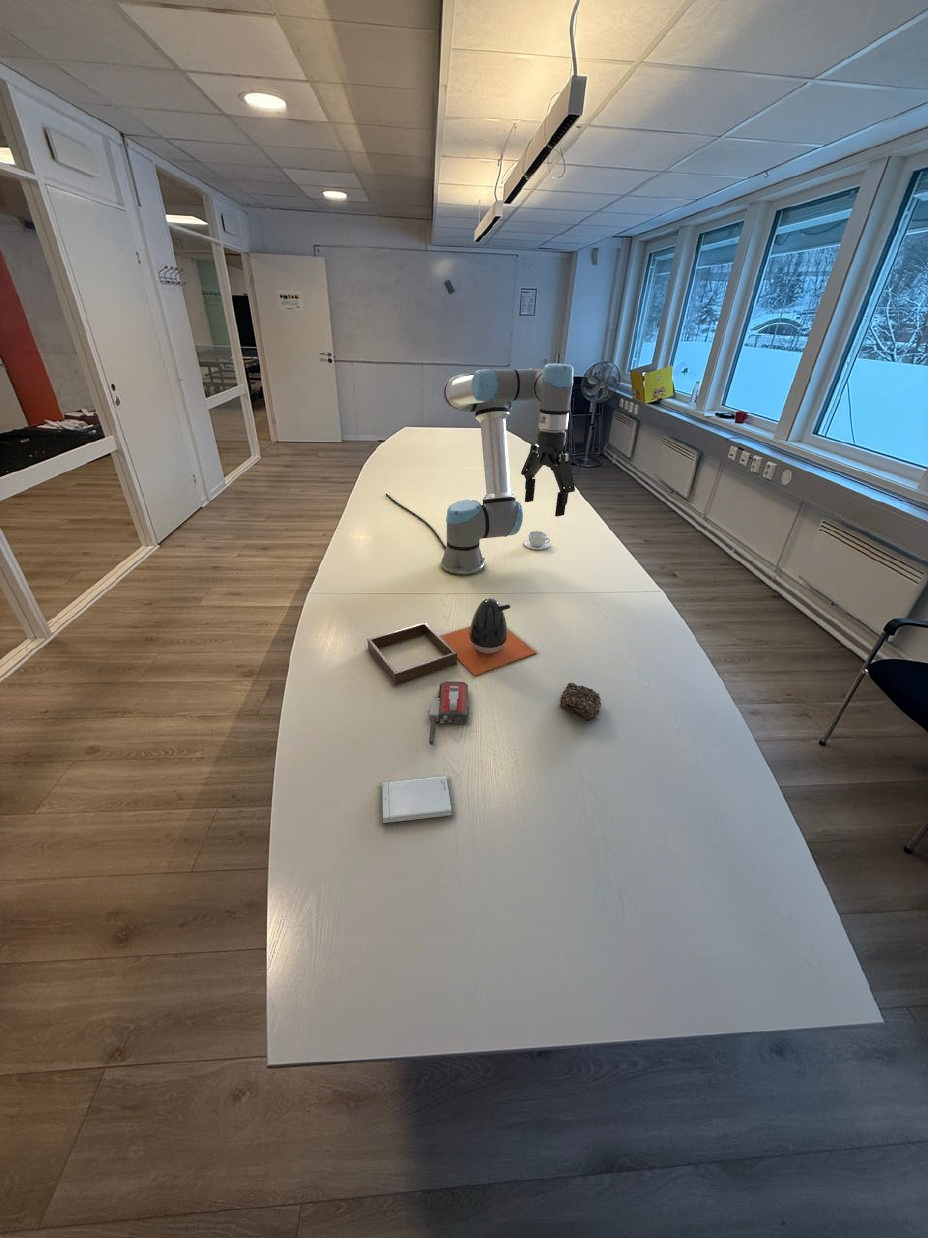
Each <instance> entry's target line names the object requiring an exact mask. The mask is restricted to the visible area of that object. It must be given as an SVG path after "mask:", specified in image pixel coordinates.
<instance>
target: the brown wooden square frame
mask: <svg viewBox="0 0 928 1238" xmlns="http://www.w3.org/2000/svg"><path fill="white" fill-rule="evenodd" d="M423 635H424V636H425V637H426V638H427V639H428V640H429V641H430V642H431V643H432V644H433V645H434V646H435V647H436V648H437V650H439V651H440V652H441V653H442V654H443V655H442V656H438V657H435V658H433V659H430V660H427V661H424V662H421V663H418V664H415V665H412V666H409V667H406V668H402V669H400V670H396V669H395V667H394V666H393V665H392V664H391V663H390V662H389V660H388V659H387V657H385V655H384V654H383V653H382V652H381V650H380V649H381V648H384V647H388V646H391V645H394V644H397V643H401V642H404V641H407V640H410V639H414V638H417V637H420V636H423ZM440 636H441V635H439V634H438V633H437V632H436V631H435V630H434V629H433V628H432V627H431V626H430V625H429V624H428V623H427V622H425V621H424V622H421V623H418V624H414V625H411V626H408V627H404V628H401V629H397V630H394V631H391V632H387V633H384V634H380V635H377V636H375V637H374V636H373V637H371V638H367V641H366V642H367V650H368V652H369V653H370V655H372V657H373V658H374V659H375V660H376V662H377V663H378V665H379V666H380V667H381V668H382V670H383V671H384V672H385V674H386V675H387V676H388V677H389V679H390V680H391V681H392V683H393V684H394V685H395V686H398V685H402V684H405V683H406V682H410V681H412V680H415V679H419V678H421V677H424V676H427V675H429V674H433V673H435V672H438V671H441V670H445V669H448V668H450V667H452V666H456V665H458V659H457V653H456V652H455V651H454V650H453V649H452V648H451V647H450V646H449V645H448V644H447V643H446V642H445V641H444V640H443V639H442V638H441V637H440Z"/></svg>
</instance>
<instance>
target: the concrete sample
mask: <svg viewBox="0 0 928 1238" xmlns="http://www.w3.org/2000/svg"><path fill="white" fill-rule="evenodd" d="M600 695H601V694H600V693H598V692H596V691H595V690H594V689H593V688H589V687H586V686H584V685H577V684H576V683H574V682H568V683H567V685H566V687H565V688H564V690H563V691H562V694H561V696H560V701H559V702H560V703H559V708H560V709H561V710H565V711H566V712H569V713H570V714H572V715H576V716H577V717H579V718H581V719H583V720H584V721H587V722H588V721H594V720H595V719H596V718H597V716H598V715H599V713H600V711H601V707H602V702H601V700H602V699H601V696H600Z"/></svg>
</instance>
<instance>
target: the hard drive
mask: <svg viewBox="0 0 928 1238" xmlns="http://www.w3.org/2000/svg"><path fill="white" fill-rule="evenodd" d="M381 787H382V791H381V792H382V823H383V824H387V823H388V824H389V823H395V822H405V821H413V820H423V819H430V818H441V817H447V816H452V812H453V811H452V804H451V797H450V791H449V785H448V779H447V776H446V775H445V776H437V777H427V778H417V779H405V780H398V781H397V780H396V781H389V782H382V785H381Z"/></svg>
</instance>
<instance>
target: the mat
mask: <svg viewBox="0 0 928 1238" xmlns="http://www.w3.org/2000/svg"><path fill="white" fill-rule="evenodd" d="M470 627H471V626H468V627H465V628H462V629H458V630H455V631H452V632H449V633H446V634H443V635H439V636H440V637H441V638H442V639H443V640H444V641H445V642H446V643H447V644H448V645H449V646H450V647H451V648H452V649H453V650H454V651H455V652H456V653H457V661H458V662H460V664H461V665H462V666H463V667H464V668H465V669H467V670H468V671H469V673H471V674H472V676H474V677H477V676H479V675H482V674H485V673H487V672H490V671H493V670H496V669H498V668H501V667H504V666H507V665H508V664H509V665H510V664H512V663H515V662H517V661H520V660H523V659H525V658H528V657H531V656H533V655H536V654H537V651H536V650H534V649H533V648H532V647H530V646H529V645H528V644H526V643H525V642H524V641H523V640H521V639H520V638H519V637H518V636H517V635H515V634H514V633H513V632H512V631H511V630H509V629H508V628H507V640H506V642H505V644H504V646H503V647H502V648H501V649H500V650H499V651H497V652H495V653H491V654H486V653H482V652H479V651H478V650H476V649H475V648H474V646H473V645H472V642H471V640H470V637H469V634H470Z"/></svg>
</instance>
